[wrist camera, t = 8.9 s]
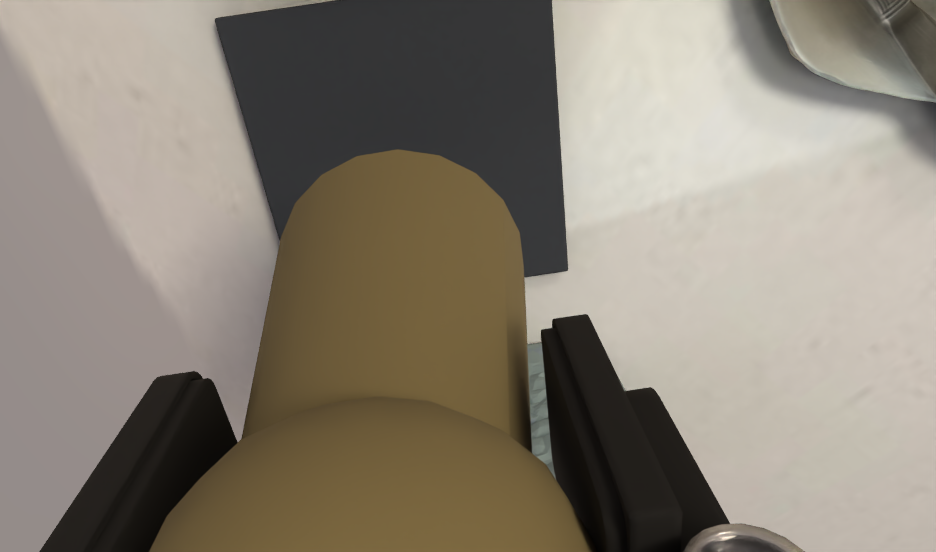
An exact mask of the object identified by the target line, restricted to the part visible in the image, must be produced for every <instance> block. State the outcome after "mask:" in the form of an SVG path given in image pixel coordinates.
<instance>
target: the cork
mask: <svg viewBox="0 0 936 552" xmlns="http://www.w3.org/2000/svg"><path fill="white" fill-rule="evenodd" d="M149 552H597V550H596V547H595V543H594V541H593V540H592V538H591V536H590V535H589V533H588V531H587V530H586V528H585V526H584V525H583V523H582V521H581V519H580V518H579V516H578V514H577V513H576V511H575V509H574V508H573V506H572V504H571V503H570V501H569V499H568V498H567V496H566V495H565V493H564V491H563V490H562V488H561V487H560V485H559V484H558V482H557V481H556V479H555V478H554V476H553V474H552V473H551V471H550V470H549V468H548V467H547V465H546V464H545V463H544V462H542V461H541V460H540V459H539V458H537V457H536V456H535V455H533V454H532V439H531V417H530V394H529V372H528V350H527V327H526V305H525V283H524V264H523V256H522V248H521V239H520V232H519V230H518V228H517V226H516V224H515V222H514V220H513V218H512V216H511V214H510V212H509V210H508V208H507V206H506V204H505V202H504V200H503V199H502V198H501V197H500V196H499V195H498V194H497V193H496V192H495V191H494V190H493V189H492V188H491V187H489V186H488V185H487V184H486V183H485V182H484V181H483V180H482V179H481V178H480V177H479V176H478V175H477V174H476V173H474V172H472V171H470V170H468V169H466V168H464V167H462V166H460V165H458V164H456V163H454V162H452V161H450V160H448V159H446V158H444V157H442V156H440V155H434V154H427V153H420V152H413V151H406V150H399V149H397V150H391V151H385V152H379V153H373V154H367V155H361V156H356V157H354V158H352V159H351V160H349V161H347V162H345V163H343V164H341V165H339V166H337V167H335V168H333V169H332V170H330V171H328V172H326V173H324V174H322V175H321V176H320V177H319V178H318V179H317V180H316V181H315V182H314V183H313V184H312V185H311V186H310V188H309V189H308V190H307V191H306V192H305V193H304V194H303V195H302V196H301V197H300V198H299V199H298V200H297V202H296V203H295V205H294V207H293V209H292V212H291V214H290V217H289V219H288V221H287V224H286V226H285V229H284V231H283V233H282V236H281V240H280V245H279V250H278V255H277V260H276V265H275V270H274V276H273V281H272V286H271V291H270V296H269V301H268V306H267V311H266V316H265V322H264V327H263V332H262V337H261V342H260V347H259V352H258V357H257V362H256V368H255V373H254V378H253V383H252V388H251V393H250V398H249V403H248V408H247V414H246V419H245V424H244V429H243V434H242V439H241V440H240V441H239V442H238V443H237V444H236V445H235V446H234V447H233V448H232V449H231V450H229V451H228V452H227V453H226V454H225V455H224V456H223V457H222V458H221V459H220V460H219V461H218V462H217V463H216V464H215V465H214V466H213V467H211V468H210V469H209V470H208V471H207V472H206V473H205V474H204V475H203V476H202V477H201V478H200V479H199V480H198V481H197V482H196V483H195V485H194V486H193V487H192V488H191V489H190V490H189V491H188V492H187V494H186V495H185V496H184V497H183V498H182V499H181V500H180V502H179V503H178V504H177V505H176V506H175V507H174V508H173V509H172V511H171V512H170V513H169V514H168V515H167V517H166V519H165V521H164V523H163V525H162V527H161V529H160V531H159V533H158V535H157V537H156V539H155V541H154V543H153V545H152V547H151V549H150V551H149Z"/></svg>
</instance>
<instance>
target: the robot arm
mask: <svg viewBox="0 0 936 552" xmlns="http://www.w3.org/2000/svg"><path fill="white" fill-rule="evenodd" d="M541 341H542V352H543V363H544V375H545V386H546V397H547V408H548V420H549V431H550V442H551V454H552V461H553V467H554V473H555V477H556V481H557V482H558V484H559V485H560V487H561V488H562V490H563V491H564V493H565V495H566V496H567V498H568V499H569V501H570V503H571V504H572V506H573V508H574V509H575V511H576V513H577V514H578V516H579V518H580V519H581V521H582V523H583V525H584V526H585V528H586V530H587V531H588V533H589V535H590V536H591V538H592V540H593V541H594V543H595V547H596V550H597V552H805V551H803V550H802V549H800V548H799V547H798V546H796V545H795V544H794V543H792V542H791V541H789V540H788V539H787V538H785V537H783V536H780V535H778V534H776V533H774V532H771V531H769V530H767V529H765V528H760V527H756V526H751V525H746V524H730V523H729V521H728V519H727V517H726V515H725V514H724V512H723V510H722V508H721V507H720V505H719V503H718V501H717V499H716V498H715V496H714V494H713V492H712V490H711V489H710V487H709V485H708V483H707V481H706V480H705V478H704V476H703V474H702V472H701V471H700V469H699V467H698V465H697V463H696V462H695V460H694V458H693V456H692V454H691V453H690V451H689V449H688V447H687V445H686V444H685V442H684V440H683V438H682V437H681V435H680V433H679V431H678V429H677V428H676V426H675V424H674V422H673V420H672V419H671V417H670V415H669V413H668V411H667V410H666V408H665V406H664V404H663V402H662V401H661V399H660V397H659V395H658V394H657V393H656V391H655V390H654V389H652V388H651V387H650V388H643V389H636V390H630V391H624V389H623V387H622V385H621V383H620V380H619V378H618V376H617V374H616V372H615V370H614V368H613V366H612V364H611V362H610V360H609V358H608V356H607V353H606V351H605V349H604V347H603V345H602V343H601V341H600V339H599V337H598V335H597V333H596V331H595V329H594V326H593V324H592V322H591V320H590V318H589V316H588V315H586V314H584V315H578V316H571V317H564V318H557V319H553V321H552V328H550V329H543V330H541ZM237 443H238V442H237V440H236V437H235V435H234V432H233V430H232V427H231V425H230V422H229V420H228V417H227V415H226V412H225V410H224V407H223V404H222V402H221V399H220V397H219V394H218V392H217V389H216V387H215V385H214V383H213V381H212V380H211V379H208V378H207V379H203V378H202V376H201V375H200V374H199V373H198V372H195V371H193V372H186V373H179V374H172V375H166V376H160V377H157V378H156V379H155V380H154V381H153V383H152V384H151V386H150V387H149V389H148V390H147V392H146V393H145V395H144V396H143V398H142V399H141V401H140V402H139V404H138V405H137V407H136V408H135V410H134V411H133V413H132V414H131V416H130V417H129V419H128V420H127V422H126V423H125V425H124V426H123V428H122V429H121V431H120V432H119V434H118V435H117V437H116V438H115V440H114V441H113V443H112V444H111V446H110V447H109V449H108V450H107V452H106V453H105V455H104V456H103V458H102V459H101V461H100V462H99V464H98V465H97V467H96V468H95V469H94V471H93V472H92V474H91V475H90V477H89V479H88V480H87V482H86V483H85V484H84V486H83V487H82V489H81V491H80V492H79V493H78V495H77V496H76V498H75V500H74V501H73V503H72V504H71V505H70V507H69V508H68V510H67V512H66V513H65V514H64V516H63V517H62V519H61V521H60V522H59V524H58V525H57V526H56V528H55V529H54V531H53V532H52V534H51V535H50V537H49V538H48V540H47V541H46V543H45V544H44V546H43V547H42V549H41V550H40V552H149V551H150V549H151V547H152V545H153V543H154V541H155V539H156V537H157V535H158V533H159V531H160V529H161V527H162V525H163V523H164V521H165V519H166V517H167V515H168V514H169V513H170V512H171V511H172V509H173V508H174V507H175V506H176V505H177V504H178V503H179V502H180V500H181V499H182V498H183V497H184V496H185V495H186V494H187V492H188V491H189V490H190V489H191V488H192V487H193V486H194V485H195V483H196V482H197V481H198V480H199V479H200V478H201V477H202V476H203V475H204V474H205V473H206V472H207V471H208V470H209V469H210V468H211V467H213V466H214V465H215V464H216V463H217V462H218V461H219V460H220V459H221V458H222V457H223V456H224V455H225V454H226V453H227V452H228V451H229V450H231V449H232V448H233V447H234V446H235V445H236V444H237Z"/></svg>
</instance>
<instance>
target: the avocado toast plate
mask: <svg viewBox="0 0 936 552" xmlns="http://www.w3.org/2000/svg"><path fill="white" fill-rule="evenodd" d="M770 3H771V7H772V10H773V13H774V15H775V18H776V20H777V23H778V25H779V28H780V30H781V32H782V34H783V37H784V38H785V40H786V43H787V46H788V49H789V52H790V54H791V55H792V56H793V57H794V58H796V59H797V60H798V61H800V62H801V63H803V64H804V65H805V66H806V67H807V68H808V69H809V70H810V71H811V72H813V73H815V74H817V75H819V76H821V77H823V78H825V79H828V80H830V81H833V82H835V83H838V84H841V85H844V86H848V87H852V88H856V89H861V90H865V91H873V92H878V93H883V94H887V95H893V96H897V97H900V98H906V99H914V100H920V101H931V102H935V103H936V0H770Z"/></svg>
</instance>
